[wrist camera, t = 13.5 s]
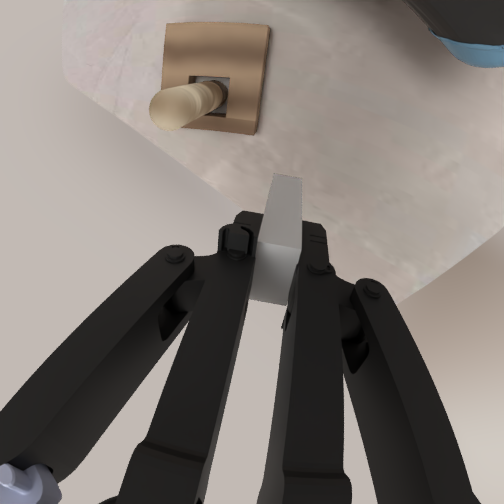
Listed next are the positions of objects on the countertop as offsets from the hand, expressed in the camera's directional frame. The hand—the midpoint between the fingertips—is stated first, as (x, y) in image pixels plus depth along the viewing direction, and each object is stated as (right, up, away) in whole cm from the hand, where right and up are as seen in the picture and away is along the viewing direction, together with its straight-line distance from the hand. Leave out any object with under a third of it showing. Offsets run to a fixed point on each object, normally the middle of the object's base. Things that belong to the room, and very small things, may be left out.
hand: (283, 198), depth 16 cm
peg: (-7, +20, +22) cm, 31 cm away
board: (-7, +22, +21) cm, 31 cm away
